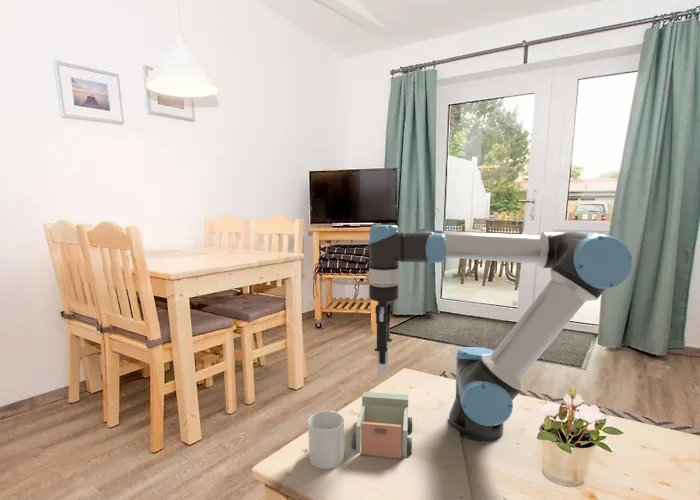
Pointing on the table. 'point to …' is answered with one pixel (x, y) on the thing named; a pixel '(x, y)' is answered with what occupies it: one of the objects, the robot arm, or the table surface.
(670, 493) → the table surface
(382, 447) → the panel
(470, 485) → the table surface
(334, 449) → the mug
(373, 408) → the truck bed
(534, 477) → the table surface
